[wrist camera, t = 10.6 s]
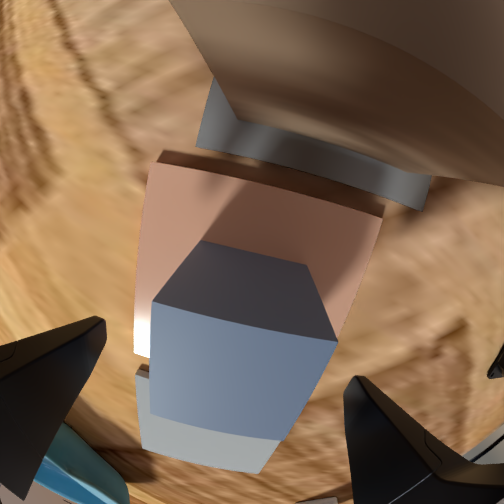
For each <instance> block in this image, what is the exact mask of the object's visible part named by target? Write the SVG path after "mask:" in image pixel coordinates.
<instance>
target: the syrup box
mask: <svg viewBox="0 0 504 504" xmlns="http://www.w3.org/2000/svg"><path fill="white" fill-rule="evenodd" d="M295 504H338V501H337V497H330V498H324V499H318V500H312V501H305V502H299V503H295Z"/></svg>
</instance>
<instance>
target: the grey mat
mask: <svg viewBox="0 0 504 504" xmlns="http://www.w3.org/2000/svg"><path fill="white" fill-rule="evenodd" d="M135 381H136V396H137V408H138V418H139V427H140V435H141V442H142V448H143V449H146V450H149V451H152V452H155V453H158V454H161V455H165V456H168V457H172V458H175V459H179V460H183V461H187V462H191V463H196V464H200V465H205V466H210V467H215V468H220V469H226V470H233V471H239V472H247V473H256V474H258V473H259V472H260V471H261V469H262V468H263V466H264V465H265V463H266V462H267V461H268V459H269V458H270V456H271V455H272V453H273V452H274V450H275V449H276V447H277V446H278V444H279V443H280V441H278V440H268V439H260V438H252V437H246V436H239V435H233V434H228V433H222V432H217V431H213V430H208V429H203V428H199V427H195V426H191V425H187V424H183V423H179V422H176V421H172V420H169V419H165V418H162V417H159V416H156V415H153V414H150V393H149V372H146V371H143V370H140V369H138V370H137V372H136V374H135Z"/></svg>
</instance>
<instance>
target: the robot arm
mask: <svg viewBox="0 0 504 504" xmlns="http://www.w3.org/2000/svg"><path fill="white" fill-rule="evenodd" d="M106 340H107V332H106V321H105V320H104V319H103V318H100V317H98V316H92V317H89V318H86V319H83V320H80V321H77V322H74V323H71V324H68V325H65V326H62V327H59V328H55V329H52V330H49V331H46V332H43V333H40V334H37V335H34V336H30V337H27V338H24V339H21V340H18V341H15V342H11V343H8V344H5V345H1V346H0V486H1V484H2V485H4V486H5V487H6V488H7V489H8V490H10V491H11V492H12V493H14V494H15V495H16V496H18V497H19V498H20V499H22V500H23V501H24V500H25V498H26V496H27V493H28V491H29V489H30V486H31V484H32V482H33V480H34V478H35V476H36V473H37V471H38V469H39V467H40V465H41V463H42V461H43V459H44V457H45V455H46V453H47V451H48V449H49V447H50V445H51V443H52V441H53V439H54V437H55V435H56V434H57V432H58V430H59V428H60V426H61V424H62V423H63V421H64V419H65V417H66V415H67V414H68V412H69V410H70V408H71V407H72V405H73V403H74V402H75V400H76V398H77V397H78V395H79V393H80V391H81V390H82V388H83V387H84V385H85V383H86V382H87V380H88V378H89V377H90V375H91V373H92V371H93V369H94V367H95V364H96V362H97V360H98V358H99V356H100V354H101V352H102V350H103V348H104V346H105V344H106ZM487 377H488V378H489V379H494V378H501V377H504V348H503V349H502V351H501V353H500V355H499V356H498V358H497V359H496V361H495V363H494V364H493V366H492V367H491V369H490V370H489V372H488V374H487ZM343 401H344V425H345V435H346V442H347V449H348V456H349V464H350V472H351V481H352V490H353V501H354V504H504V463H500V464H486V465H480V464H475V463H472V462H470V461H468V460H467V459H465V458H464V457H462V456H461V455H459V454H458V453H456V452H455V451H453V450H452V449H450V448H449V447H448V446H446V445H445V444H444V443H442V442H441V441H439V440H438V439H437V438H436V437H435V436H433V435H432V434H431V433H430V432H429V431H427V430H426V429H424V427H423V426H421V425H420V424H419V423H418V422H417V421H416V420H414V419H413V418H412V417H411V416H410V415H409V414H407V413H406V412H405V411H404V410H403V409H402V408H401V407H399V406H398V405H397V404H396V403H395V402H394V401H392V400H391V399H390V398H389V397H388V396H387V395H386V394H384V393H383V392H382V391H381V390H380V389H379V388H378V387H376V386H375V385H374V384H373V383H372V382H371V381H370V380H369V379H367V378H366V377H365V376H358V375H356V376H354V377H353V378H352V379H351V381H350V382H349V384H348V386H347V387H346V389H345V391H344V394H343ZM0 504H2V502H1V500H0Z"/></svg>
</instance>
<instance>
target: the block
mask: <svg viewBox="0 0 504 504" xmlns="http://www.w3.org/2000/svg"><path fill="white" fill-rule="evenodd" d="M337 344H338V340H337V337H336V335H335V332H334V330H333V327H332V325H331V322H330V320H329V317H328V315H327V312H326V310H325V307H324V305H323V302H322V300H321V297H320V295H319V293H318V290H317V288H316V285H315V283H314V281H313V278H312V276H311V274H310V271H309V269H308V267H307V265H305V264H300V263H296V262H292V261H288V260H283V259H279V258H275V257H271V256H266V255H262V254H258V253H254V252H249V251H245V250H241V249H237V248H232V247H228V246H224V245H220V244H215V243H211V242H207V241H203V240H200V241H199V242H198V244H197V245H196V246H195V247H194V248H193V250H192V251H191V252H190V253H189V255H188V256H187V257H186V258H185V260H184V261H183V262H182V263H181V265H180V266H179V267H178V268H177V270H176V271H175V272H174V273H173V275H172V276H171V277H170V278H169V280H168V281H167V282H166V283H165V285H164V286H163V287H162V289H161V290H160V291H159V292H158V294H157V295H156V296H155V298H154V299H153V300H152V305H151V322H150V350H149V393H150V414H153V415H156V416H159V417H162V418H165V419H169V420H172V421H176V422H179V423H183V424H187V425H191V426H195V427H199V428H203V429H208V430H213V431H217V432H222V433H228V434H233V435H239V436H246V437H252V438H260V439H268V440H278V441H284V439H285V437H286V436H287V434H288V433H289V431H290V430H291V428H292V426H293V425H294V423H295V422H296V420H297V418H298V417H299V415H300V413H301V412H302V410H303V408H304V406H305V405H306V403H307V401H308V399H309V398H310V396H311V394H312V392H313V391H314V389H315V387H316V385H317V383H318V381H319V379H320V378H321V376H322V374H323V372H324V370H325V368H326V366H327V364H328V362H329V360H330V358H331V356H332V354H333V352H334V350H335V348H336V346H337Z"/></svg>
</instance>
